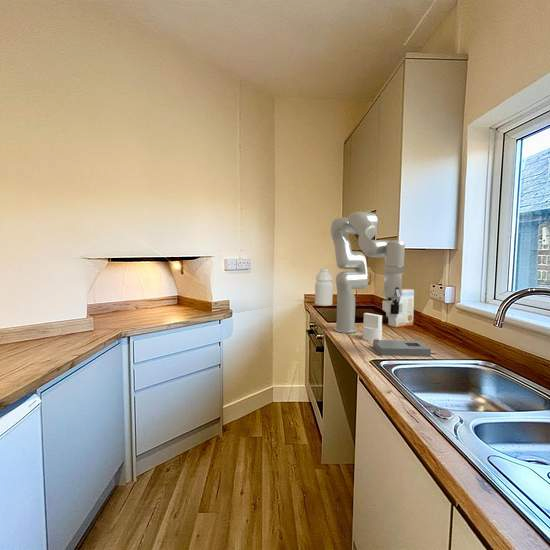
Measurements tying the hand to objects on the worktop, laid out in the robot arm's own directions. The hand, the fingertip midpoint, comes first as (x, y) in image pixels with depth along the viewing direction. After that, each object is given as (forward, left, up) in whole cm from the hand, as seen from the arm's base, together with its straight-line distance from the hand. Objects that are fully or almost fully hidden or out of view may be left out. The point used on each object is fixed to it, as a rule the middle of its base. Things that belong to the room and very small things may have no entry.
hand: (391, 311), depth 144 cm
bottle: (-120, -14, -17) cm, 122 cm away
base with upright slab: (-19, -3, -17) cm, 26 cm away
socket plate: (0, +4, -17) cm, 17 cm away
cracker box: (-49, +21, -17) cm, 56 cm away
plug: (0, 0, -2) cm, 2 cm away
